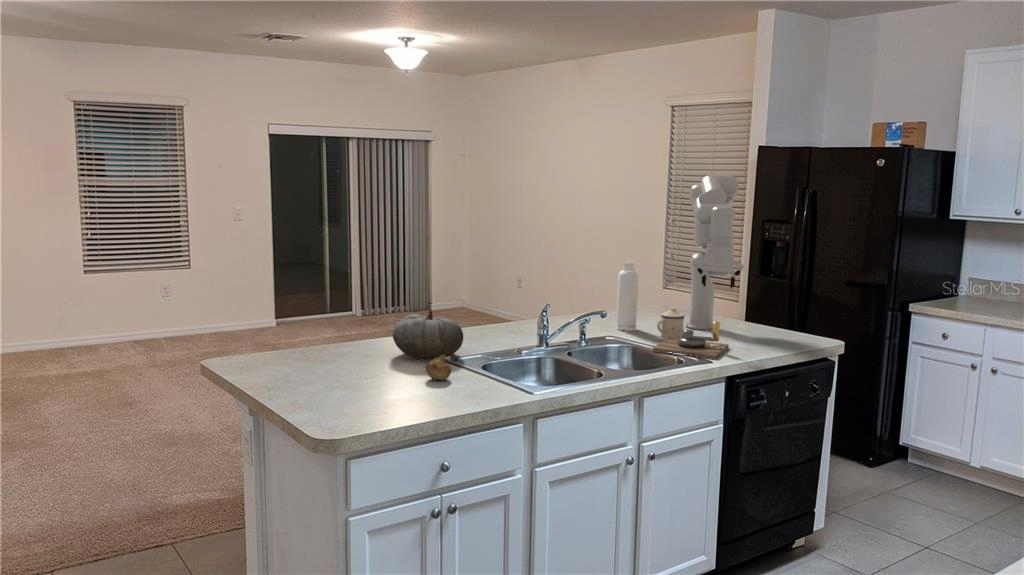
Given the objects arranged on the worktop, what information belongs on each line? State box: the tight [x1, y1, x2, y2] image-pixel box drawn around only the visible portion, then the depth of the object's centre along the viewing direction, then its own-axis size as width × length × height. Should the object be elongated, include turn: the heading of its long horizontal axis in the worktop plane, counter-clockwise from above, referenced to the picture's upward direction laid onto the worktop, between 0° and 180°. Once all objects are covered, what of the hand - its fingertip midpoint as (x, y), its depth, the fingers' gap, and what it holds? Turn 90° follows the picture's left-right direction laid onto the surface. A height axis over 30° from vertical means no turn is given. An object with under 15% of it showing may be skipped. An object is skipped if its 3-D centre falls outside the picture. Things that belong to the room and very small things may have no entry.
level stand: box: [652, 337, 730, 360], centre depth 294 cm, size 20×23×2 cm
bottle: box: [616, 260, 639, 332], centre depth 327 cm, size 8×8×28 cm
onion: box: [425, 355, 452, 381], centre depth 249 cm, size 8×8×8 cm
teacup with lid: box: [656, 307, 685, 339], centre depth 314 cm, size 12×9×12 cm
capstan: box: [678, 321, 721, 347], centre depth 293 cm, size 15×10×9 cm
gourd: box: [392, 309, 464, 361], centre depth 278 cm, size 25×25×17 cm
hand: (717, 287), depth 291 cm, fingers open, 9 cm apart
